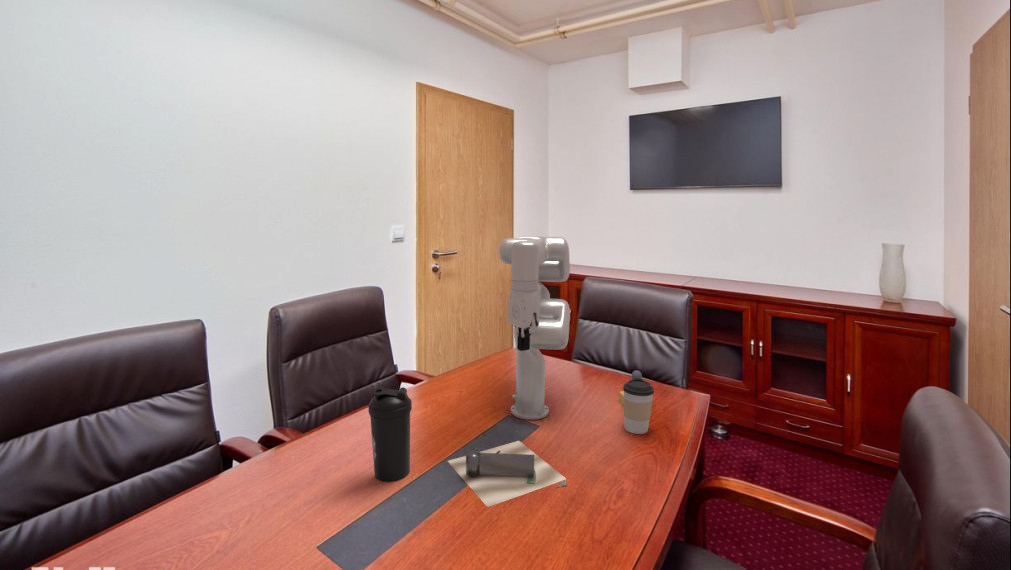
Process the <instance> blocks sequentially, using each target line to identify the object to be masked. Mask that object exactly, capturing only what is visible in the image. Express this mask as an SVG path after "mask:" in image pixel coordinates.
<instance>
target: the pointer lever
mask: <svg viewBox="0 0 1011 570" xmlns="http://www.w3.org/2000/svg"><path fill="white" fill-rule="evenodd" d="M480 452H481V451H479V450H473V449H472V450H469V451H466V452H465V456H466V475H468V476H470V477H476V476H478V475H499V476H523V477H534V455H527V454H500V453H480Z"/></svg>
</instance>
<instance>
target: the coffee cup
mask: <svg viewBox="0 0 1011 570" xmlns="http://www.w3.org/2000/svg"><path fill="white" fill-rule="evenodd" d="M654 390H655V388H654V387H653V386H652V385H651V383H649V382H648V381H645V380H643V378H642V379H633V380H632V379H630V380H628V381H627V382H626V383H624V384H623V387H622V391H624V396H623V399H624V406H623V418H624V419H623V420H624V429H625V430H626V432H629V433H631V434H636V435H643V434H646V433H648V432H649V431H648V430H649V424H650V419H651V413H652V406H653V401H654V400H653V398H652V397H653V396H654V394H655V393H654V392H655V391H654Z"/></svg>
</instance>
